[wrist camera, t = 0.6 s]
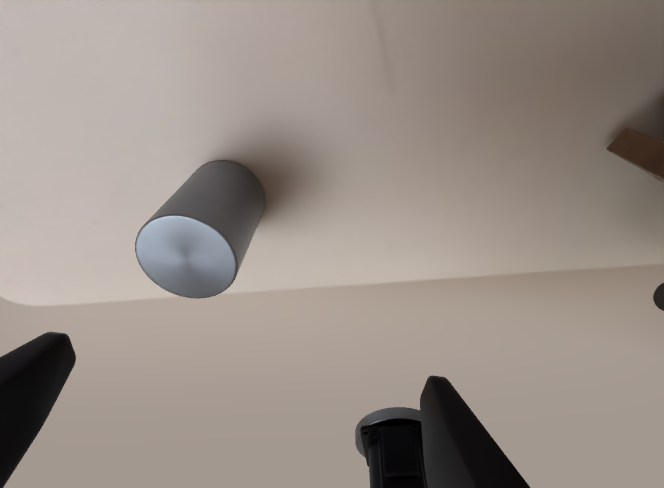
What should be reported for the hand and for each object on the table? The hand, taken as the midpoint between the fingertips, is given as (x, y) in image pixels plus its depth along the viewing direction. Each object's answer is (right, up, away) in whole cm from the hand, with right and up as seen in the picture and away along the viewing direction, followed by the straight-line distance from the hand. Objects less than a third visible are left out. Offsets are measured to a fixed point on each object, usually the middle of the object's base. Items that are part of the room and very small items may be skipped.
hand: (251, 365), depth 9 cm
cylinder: (-4, +6, +12) cm, 14 cm away
